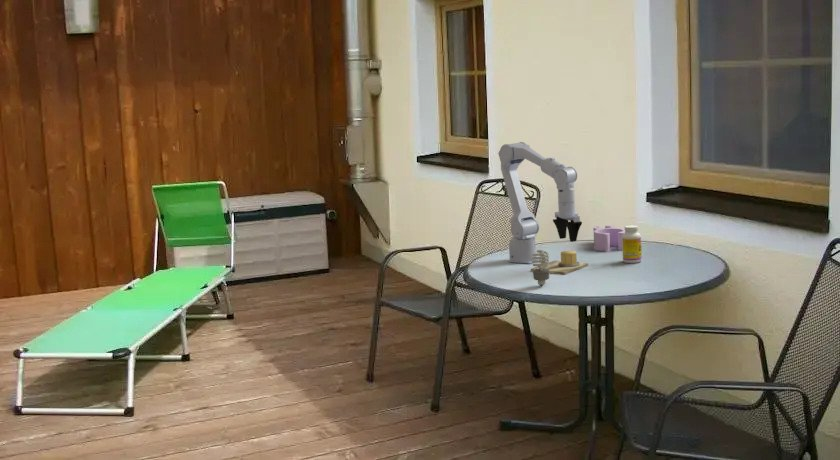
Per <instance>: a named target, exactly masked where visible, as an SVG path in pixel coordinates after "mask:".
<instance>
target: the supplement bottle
mask: <svg viewBox="0 0 840 460" xmlns="http://www.w3.org/2000/svg"><path fill="white" fill-rule="evenodd" d="M624 229H625V233H624V234H623V235H622V249H623V251H622V262H624V263H627V264H636V263H641V262H642V258H643V256H642V235H641V233H640V232H639V231H638V230H639V226H638V225H631V224H630V225H625V226H624Z"/></svg>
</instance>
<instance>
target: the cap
mask: <svg viewBox="0 0 840 460" xmlns="http://www.w3.org/2000/svg"><path fill="white" fill-rule="evenodd" d="M560 261H561V264H563V265H573V264H577V262H578V261H577V251H575V250H563V251H561V252H560Z"/></svg>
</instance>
